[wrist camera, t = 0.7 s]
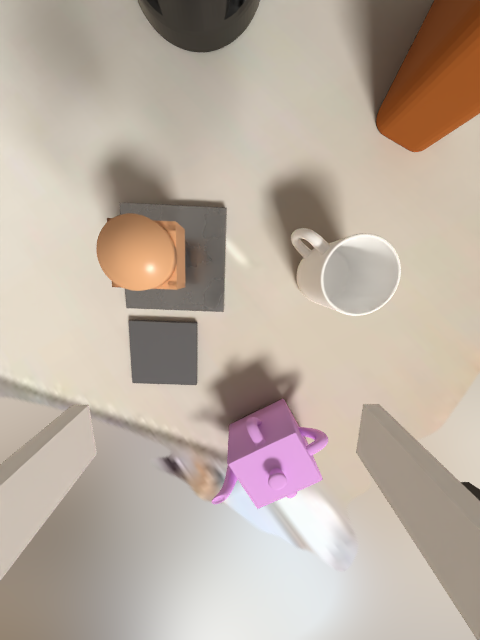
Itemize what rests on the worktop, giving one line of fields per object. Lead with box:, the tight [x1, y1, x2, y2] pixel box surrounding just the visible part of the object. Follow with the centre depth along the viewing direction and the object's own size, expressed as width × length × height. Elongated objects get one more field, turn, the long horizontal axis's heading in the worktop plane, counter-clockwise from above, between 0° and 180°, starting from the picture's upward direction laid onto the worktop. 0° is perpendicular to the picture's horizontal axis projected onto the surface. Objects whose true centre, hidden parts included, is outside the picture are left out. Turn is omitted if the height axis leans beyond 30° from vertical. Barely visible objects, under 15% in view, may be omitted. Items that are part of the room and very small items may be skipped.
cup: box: [291, 228, 401, 316], centre depth 27 cm, size 8×12×10 cm
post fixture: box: [120, 203, 227, 312], centre depth 27 cm, size 14×14×9 cm
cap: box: [97, 213, 185, 291], centre depth 24 cm, size 7×7×6 cm
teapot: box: [212, 398, 328, 509], centre depth 33 cm, size 18×14×10 cm
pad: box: [129, 320, 197, 385], centre depth 34 cm, size 10×10×1 cm
